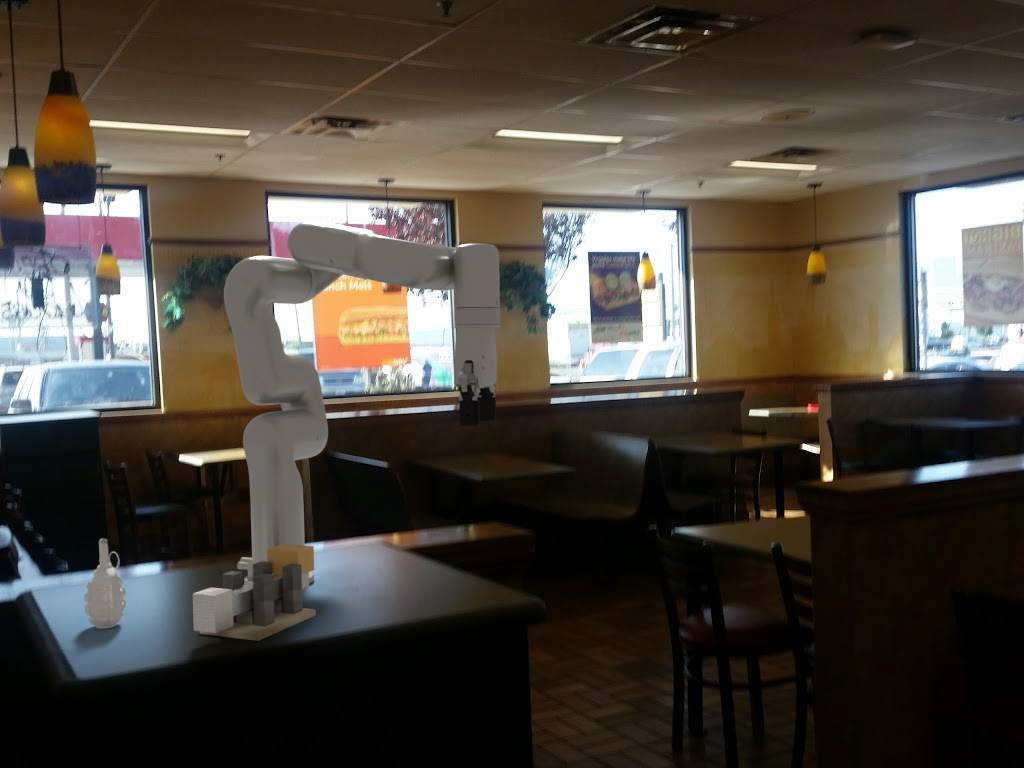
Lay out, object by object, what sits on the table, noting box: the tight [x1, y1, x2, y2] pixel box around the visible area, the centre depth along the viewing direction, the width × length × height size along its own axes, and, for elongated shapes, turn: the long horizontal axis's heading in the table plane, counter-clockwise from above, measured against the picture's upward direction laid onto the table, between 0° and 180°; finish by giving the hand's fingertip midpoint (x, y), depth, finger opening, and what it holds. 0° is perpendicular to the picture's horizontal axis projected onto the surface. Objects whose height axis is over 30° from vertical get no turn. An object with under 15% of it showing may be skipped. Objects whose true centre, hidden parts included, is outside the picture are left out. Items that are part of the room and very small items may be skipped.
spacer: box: [267, 544, 315, 574], centre depth 172 cm, size 6×4×4 cm
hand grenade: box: [83, 538, 127, 630], centre depth 164 cm, size 8×6×14 cm
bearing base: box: [199, 561, 317, 642], centre depth 164 cm, size 11×15×8 cm
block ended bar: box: [192, 572, 310, 633], centre depth 164 cm, size 4×24×6 cm, turn 156°
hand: (478, 422), depth 172 cm, fingers open, 9 cm apart
